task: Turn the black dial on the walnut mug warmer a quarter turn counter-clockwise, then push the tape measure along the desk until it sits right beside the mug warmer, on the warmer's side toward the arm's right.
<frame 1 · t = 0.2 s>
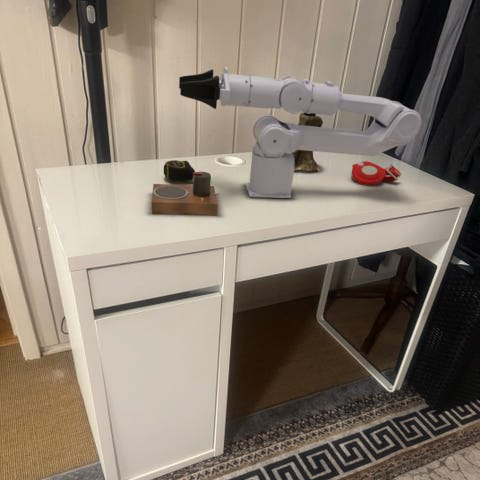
hand: (179, 85, 91), 21 cm above the table, tool horizontal, fingers open, 7 cm apart
tape measure: (181, 179, 109), on the table
heating plate: (170, 204, 97), resting on warmer
tree stump: (301, 167, 124), on the table
warmer: (184, 204, 97), on the table
dial: (201, 183, 95), point 5 cm above the table, hinge at 0.0°
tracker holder: (373, 181, 119), on the table
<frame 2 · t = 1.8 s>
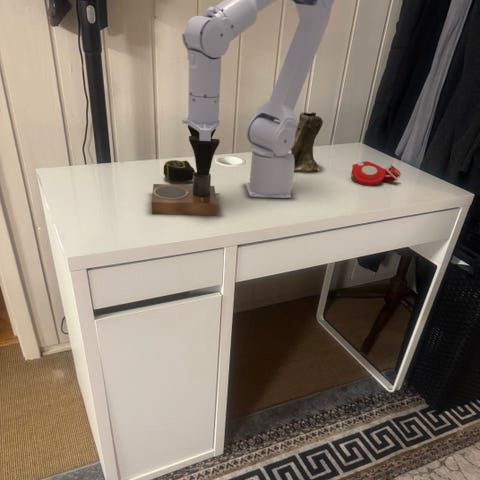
hand: (202, 168, 93), 8 cm above the table, tool pointing down, fingers open, 7 cm apart
nothing on the table moved.
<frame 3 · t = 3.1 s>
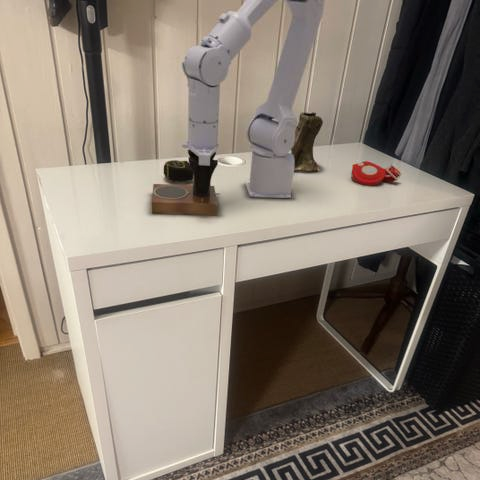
hand: (201, 189, 96), 3 cm above the table, tool pointing down, fingers closed on dial, 3 cm apart
dial: (201, 183, 95), point 5 cm above the table, hinge at -0.1°, touching gripper
everything else where it was.
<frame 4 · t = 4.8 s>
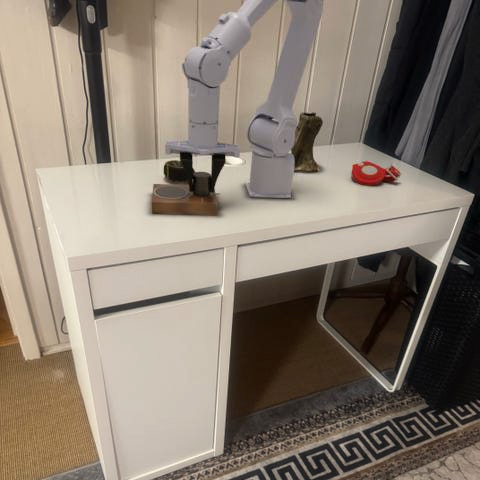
hand: (201, 190, 96), 3 cm above the table, tool pointing down, fingers closed on dial, 4 cm apart
dial: (201, 183, 95), point 5 cm above the table, hinge at 89.5°, touching gripper
everything else where it was.
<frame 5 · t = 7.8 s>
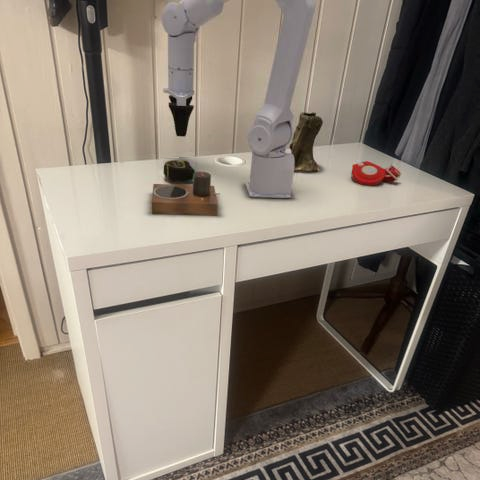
hand: (180, 131, 112), 8 cm above the table, tool pointing down, fingers open, 7 cm apart
dial: (201, 183, 95), point 5 cm above the table, hinge at 89.8°
everything else where it was.
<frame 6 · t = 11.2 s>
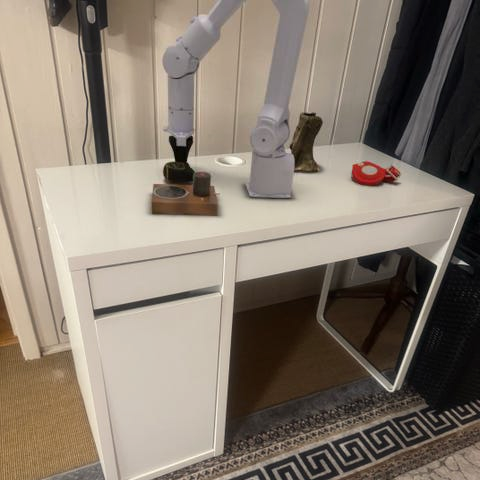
hand: (180, 168, 111), 1 cm above the table, tool pointing down, fingers closed
tape measure: (180, 181, 109), on the table, touching gripper
everything else where it was.
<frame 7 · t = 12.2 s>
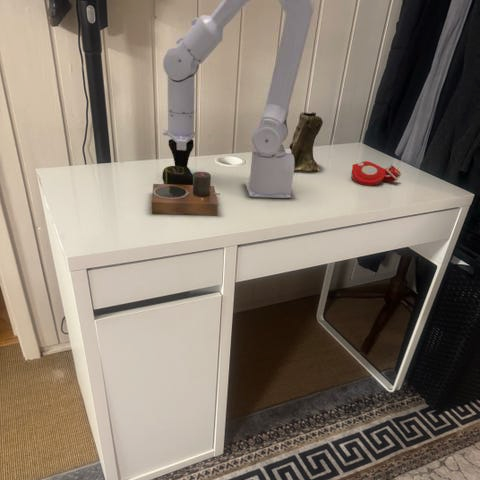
hand: (181, 172, 109), 1 cm above the table, tool pointing down, fingers closed
tape measure: (180, 186, 106), on the table, touching gripper
everything else where it was.
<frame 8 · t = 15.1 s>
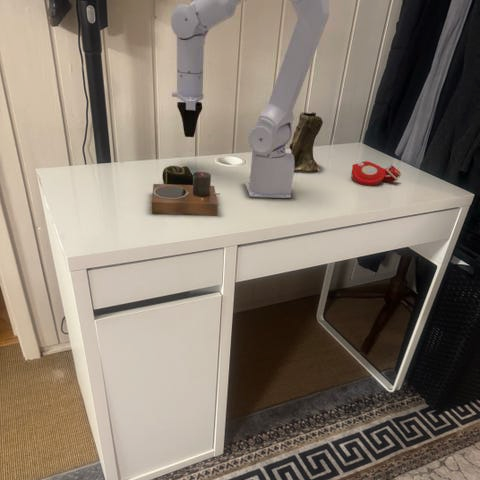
hand: (189, 136, 109), 8 cm above the table, tool pointing down, fingers closed
tape measure: (180, 186, 106), on the table
everything else where it was.
at the end: dial at +90° (first picture: +0°); tape measure inside the target area on the table beside the warmer (0.3 cm from its centre), on the table; tape measure tilted 2° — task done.
